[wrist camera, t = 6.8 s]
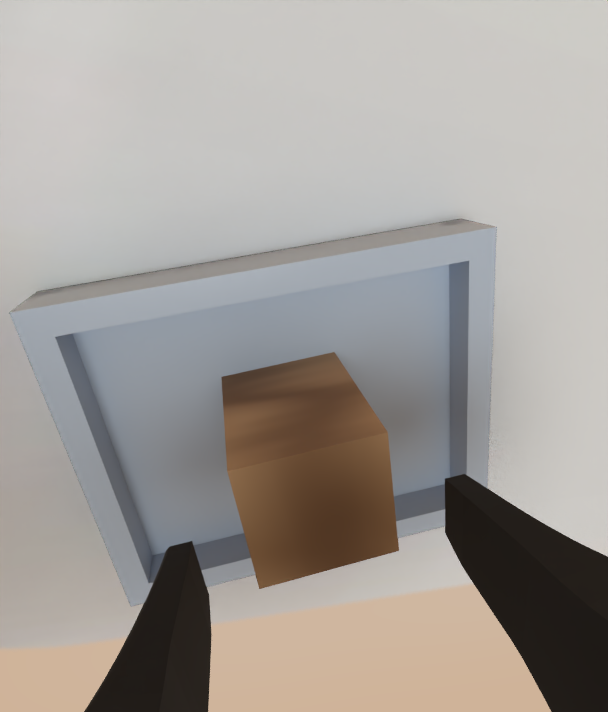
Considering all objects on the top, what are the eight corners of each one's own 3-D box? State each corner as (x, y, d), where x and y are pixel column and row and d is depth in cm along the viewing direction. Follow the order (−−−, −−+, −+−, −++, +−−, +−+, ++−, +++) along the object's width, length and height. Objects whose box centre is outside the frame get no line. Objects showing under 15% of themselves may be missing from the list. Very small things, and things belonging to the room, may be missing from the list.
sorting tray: (138, 560, 22) (130, 606, 19) (36, 291, 16) (9, 312, 14) (459, 481, 24) (486, 515, 21) (460, 218, 18) (496, 227, 16)
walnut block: (245, 470, 20) (259, 588, 14) (221, 376, 18) (227, 471, 12) (347, 445, 20) (399, 550, 15) (334, 351, 18) (387, 432, 13)
